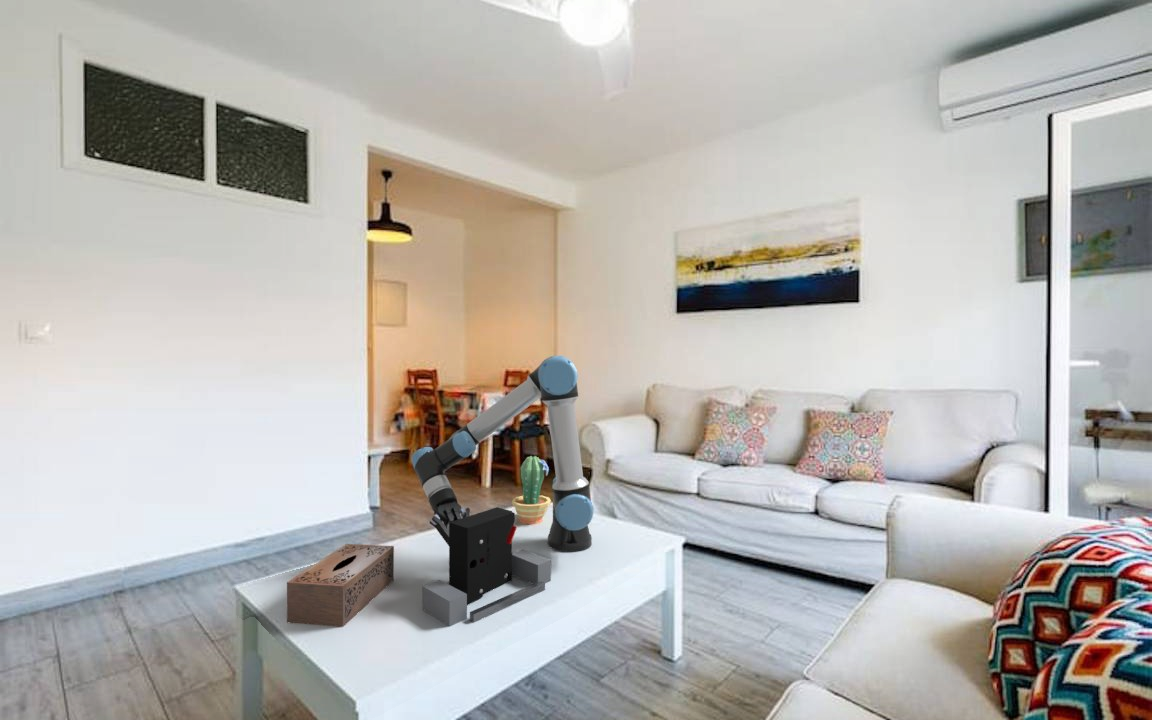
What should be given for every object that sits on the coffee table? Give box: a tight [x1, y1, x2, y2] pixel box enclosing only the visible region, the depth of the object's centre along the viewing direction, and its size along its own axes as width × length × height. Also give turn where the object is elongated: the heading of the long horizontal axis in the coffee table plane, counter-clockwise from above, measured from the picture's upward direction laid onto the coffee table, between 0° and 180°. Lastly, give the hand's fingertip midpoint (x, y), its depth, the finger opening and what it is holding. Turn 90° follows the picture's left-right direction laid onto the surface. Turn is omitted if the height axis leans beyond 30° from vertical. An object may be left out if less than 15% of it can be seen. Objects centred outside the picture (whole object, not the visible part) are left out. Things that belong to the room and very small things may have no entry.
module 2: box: [512, 548, 552, 585], centre depth 151 cm, size 5×12×6 cm, turn 48°
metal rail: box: [469, 581, 546, 623], centre depth 135 cm, size 24×2×2 cm, turn 138°
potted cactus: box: [511, 455, 552, 525], centre depth 203 cm, size 15×15×25 cm
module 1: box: [421, 579, 468, 627], centre depth 130 cm, size 5×12×6 cm, turn 48°
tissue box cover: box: [286, 543, 395, 628], centre depth 137 cm, size 26×14×10 cm, turn 173°
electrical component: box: [447, 506, 518, 606], centre depth 144 cm, size 18×10×20 cm, turn 143°
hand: (473, 565), depth 145 cm, fingers closed
